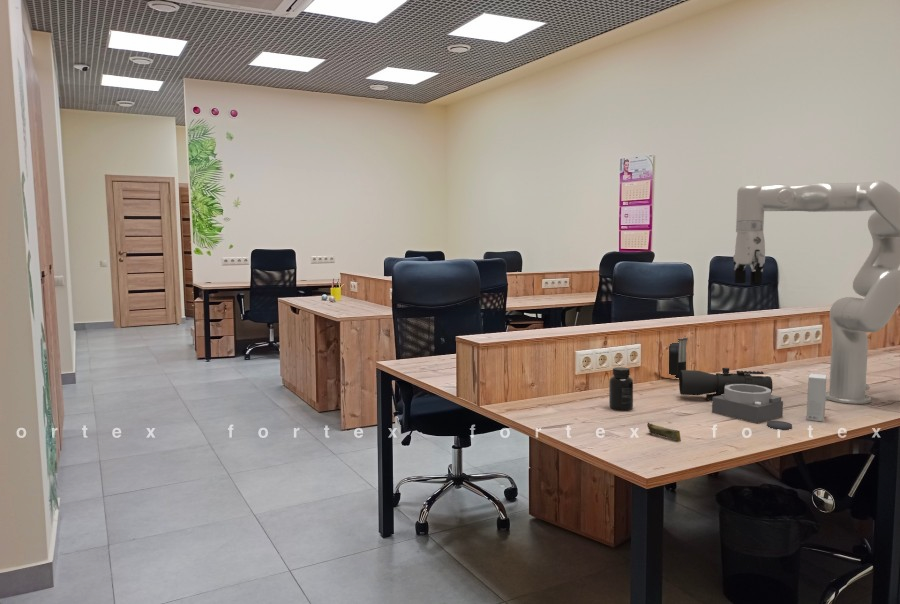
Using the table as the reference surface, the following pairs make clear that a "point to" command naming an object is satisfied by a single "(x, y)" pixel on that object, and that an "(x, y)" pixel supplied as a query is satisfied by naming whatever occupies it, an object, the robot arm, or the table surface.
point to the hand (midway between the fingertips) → (747, 284)
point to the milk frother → (677, 357)
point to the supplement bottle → (621, 390)
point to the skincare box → (816, 397)
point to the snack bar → (664, 432)
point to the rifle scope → (717, 381)
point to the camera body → (748, 403)
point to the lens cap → (779, 425)
